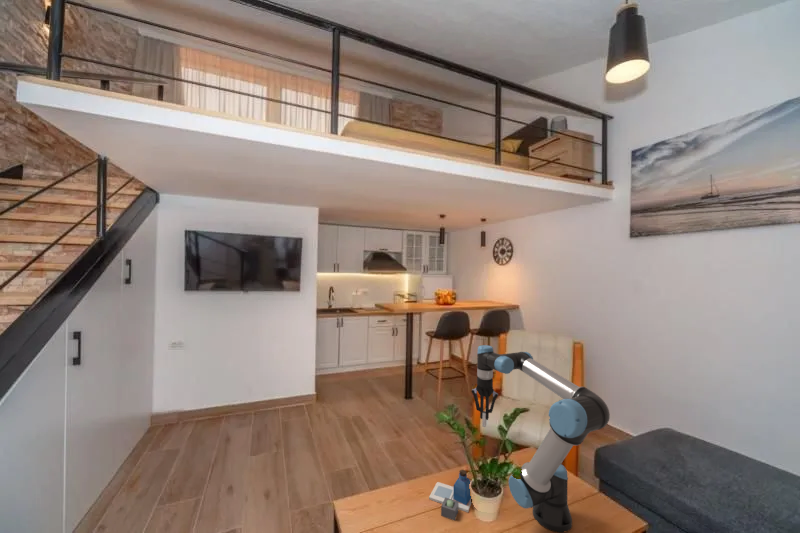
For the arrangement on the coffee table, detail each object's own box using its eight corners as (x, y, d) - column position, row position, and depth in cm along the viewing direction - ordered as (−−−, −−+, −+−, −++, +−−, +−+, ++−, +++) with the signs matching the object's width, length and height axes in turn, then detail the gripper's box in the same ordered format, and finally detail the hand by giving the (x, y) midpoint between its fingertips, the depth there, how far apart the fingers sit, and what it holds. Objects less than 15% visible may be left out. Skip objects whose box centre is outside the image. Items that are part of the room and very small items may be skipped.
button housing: (458, 511, 138) (458, 501, 138) (454, 520, 132) (454, 510, 132) (445, 506, 140) (445, 497, 140) (441, 515, 135) (441, 506, 135)
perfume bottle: (466, 505, 140) (466, 477, 140) (453, 499, 143) (453, 472, 144) (471, 497, 145) (472, 470, 145) (459, 491, 148) (459, 465, 149)
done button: (453, 510, 137) (454, 500, 137) (452, 514, 134) (452, 505, 134) (447, 508, 138) (447, 498, 138) (445, 512, 135) (446, 503, 136)
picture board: (473, 495, 148) (473, 492, 148) (468, 512, 137) (468, 509, 137) (437, 483, 155) (437, 481, 155) (429, 499, 144) (429, 496, 144)
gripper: (499, 377, 156) (499, 425, 156) (473, 373, 162) (472, 419, 161) (497, 381, 150) (497, 432, 149) (470, 377, 155) (469, 426, 154)
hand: (484, 425), depth 155 cm, fingers closed
